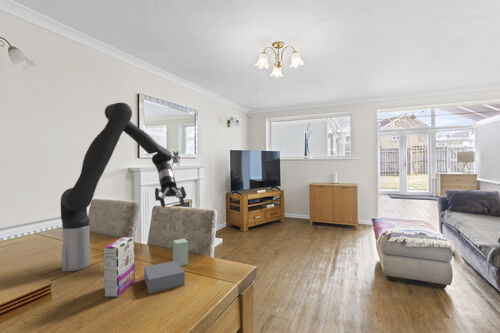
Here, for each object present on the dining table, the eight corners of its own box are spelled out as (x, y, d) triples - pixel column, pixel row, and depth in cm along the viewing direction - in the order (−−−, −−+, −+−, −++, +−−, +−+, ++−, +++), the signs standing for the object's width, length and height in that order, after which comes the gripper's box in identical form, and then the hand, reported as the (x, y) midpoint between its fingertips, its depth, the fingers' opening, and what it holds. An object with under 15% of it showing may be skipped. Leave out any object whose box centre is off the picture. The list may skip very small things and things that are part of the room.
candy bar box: (121, 281, 90) (121, 236, 90) (135, 281, 90) (135, 236, 90) (103, 297, 79) (102, 247, 79) (118, 297, 79) (118, 247, 79)
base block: (148, 294, 81) (148, 279, 81) (144, 280, 92) (144, 266, 92) (184, 285, 87) (184, 271, 87) (176, 273, 98) (176, 260, 98)
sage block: (176, 267, 102) (176, 243, 102) (173, 263, 107) (173, 240, 106) (188, 264, 105) (188, 241, 105) (184, 260, 109) (184, 238, 109)
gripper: (153, 175, 119) (158, 202, 109) (182, 174, 126) (189, 199, 117) (151, 185, 123) (156, 211, 114) (179, 184, 131) (186, 208, 121)
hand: (173, 205), depth 115 cm, fingers open, 8 cm apart
